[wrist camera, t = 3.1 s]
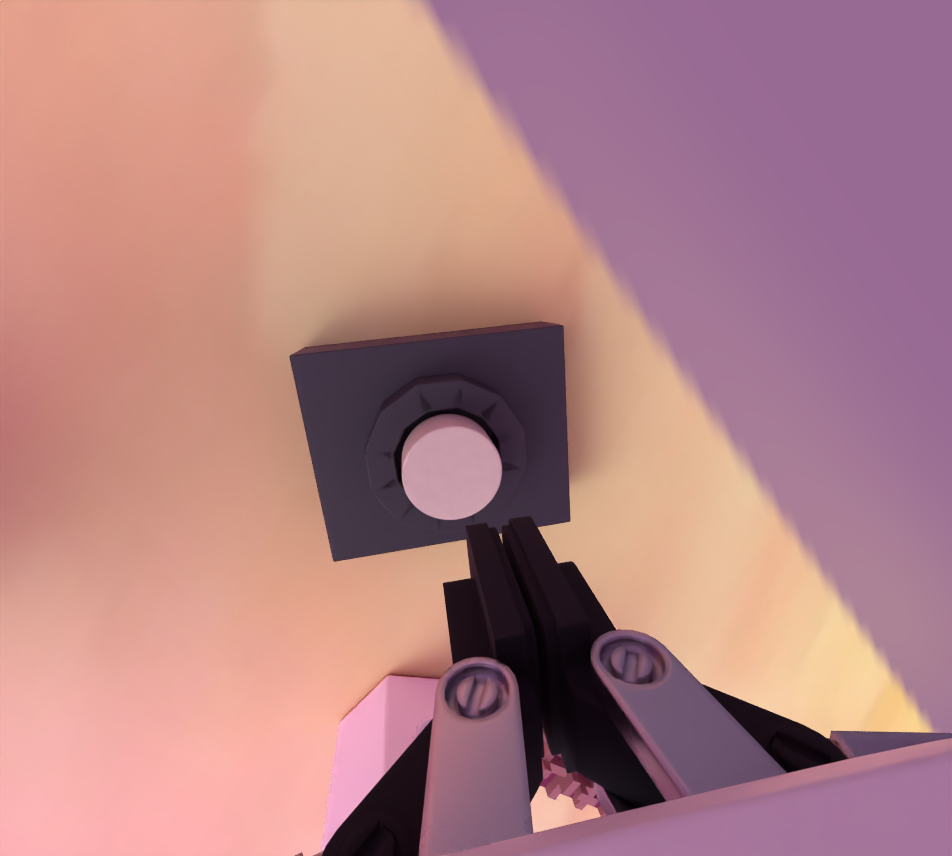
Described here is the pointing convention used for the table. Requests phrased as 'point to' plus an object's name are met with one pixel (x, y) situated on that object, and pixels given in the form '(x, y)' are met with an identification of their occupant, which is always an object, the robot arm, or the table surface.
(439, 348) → the black push button
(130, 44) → the table surface
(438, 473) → the pink short cylinder
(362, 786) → the jar
